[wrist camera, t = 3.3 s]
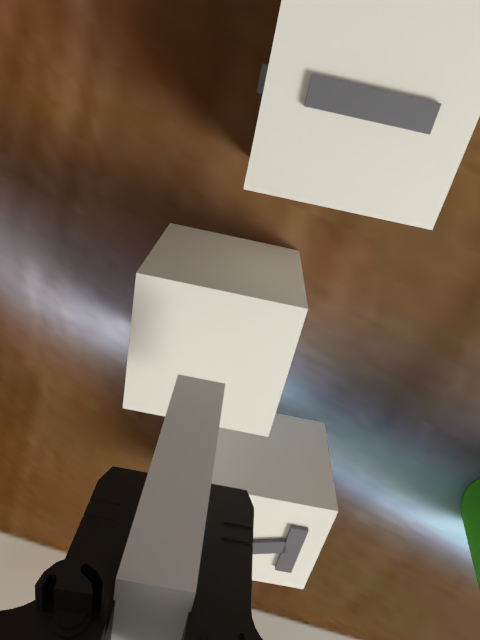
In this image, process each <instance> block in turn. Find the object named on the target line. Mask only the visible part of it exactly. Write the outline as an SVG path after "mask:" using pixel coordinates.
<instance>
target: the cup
mask: <svg viewBox="0 0 480 640" xmlns="http://www.w3.org/2000/svg"><path fill="white" fill-rule="evenodd" d="M461 514H462V519H463V523H464V527H465V531H466V536H467V540H468V544H469V548H470V552H471V557H472V561H473V565H474V569H475V573H476V578H477V582H478V586H479V590H480V479H478V480H476V481H475V482H473V483H472V484H471V485H470V486H469V487H468V488H467V490H466V492H465V493H464V495H463V499H462V506H461Z"/></svg>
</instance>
